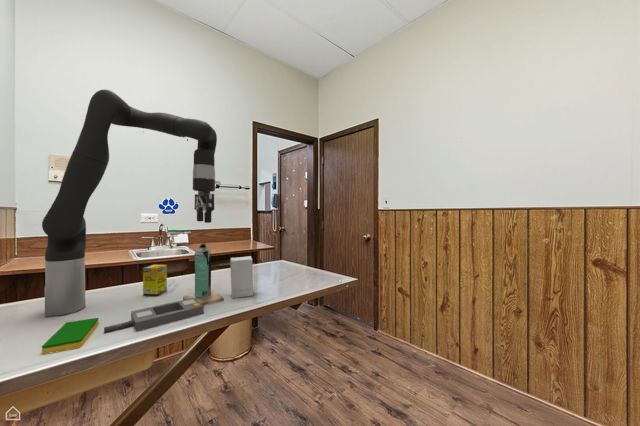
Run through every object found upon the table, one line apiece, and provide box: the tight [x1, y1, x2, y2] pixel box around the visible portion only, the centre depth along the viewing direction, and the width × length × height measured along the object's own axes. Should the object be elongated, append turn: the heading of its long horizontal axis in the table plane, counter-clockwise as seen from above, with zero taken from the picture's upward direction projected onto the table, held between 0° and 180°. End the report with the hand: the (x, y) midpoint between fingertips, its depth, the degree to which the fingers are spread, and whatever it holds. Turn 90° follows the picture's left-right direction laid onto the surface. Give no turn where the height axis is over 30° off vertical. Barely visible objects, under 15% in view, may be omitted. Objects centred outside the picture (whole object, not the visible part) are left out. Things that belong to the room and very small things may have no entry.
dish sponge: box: [41, 317, 100, 355], centre depth 67 cm, size 7×14×2 cm, turn 28°
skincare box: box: [230, 255, 254, 299], centre depth 100 cm, size 8×6×15 cm
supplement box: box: [142, 264, 168, 297], centre depth 100 cm, size 6×6×11 cm
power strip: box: [103, 298, 205, 333], centre depth 78 cm, size 24×10×3 cm, turn 133°
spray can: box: [194, 243, 212, 300], centre depth 94 cm, size 6×6×20 cm
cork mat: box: [182, 289, 225, 306], centre depth 94 cm, size 11×11×1 cm
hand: (203, 222), depth 93 cm, fingers open, 8 cm apart
